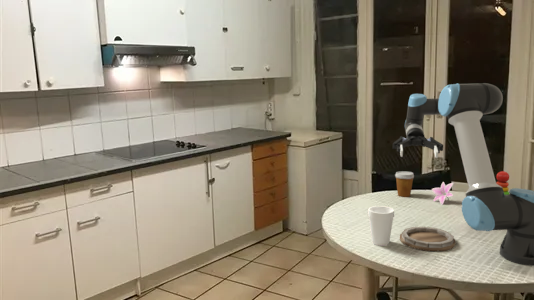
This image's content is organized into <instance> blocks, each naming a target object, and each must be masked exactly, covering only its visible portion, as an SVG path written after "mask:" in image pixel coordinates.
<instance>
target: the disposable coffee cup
mask: <svg viewBox="0 0 534 300" xmlns="http://www.w3.org/2000/svg"><path fill="white" fill-rule="evenodd" d="M394 177H395V179H396V190H397V192H396V193H397V196H398V197H401V198H408V197H409V198H410V197H411V193H412V187H413V181H414V178H415V175H414V172H412V171H403V170H402V171H396V172H395V174H394Z"/></svg>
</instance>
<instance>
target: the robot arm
mask: <svg viewBox="0 0 534 300" xmlns="http://www.w3.org/2000/svg"><path fill="white" fill-rule="evenodd" d="M503 97H504V96H503V93H502V91H501V89H500V88H499V87H498V86H496V85H494V84H491V83H486V82H482V83H453V84H452V83H451V84H447V85H446V86H444V87H443V88H442V90H441V92H440V94H439V96H438V98H428V97H427V96H426V95H425V94H423V93H412V94H410V96H409V99H408V104H407V111H406V119H405V122H404V131H405V135H406V138H405V137H404V136H403V135H401V136H399V138H397V140H395V141H393V142H392V150H396V152H398V153H399V155H400V157H401V158H403V155H404V149H405V148H407V147H411V146H412V147H413V146H416V147H418V146H421V147H423V148H425V147H426V148H427V149H430V150H433V154H434V157H435V159H438V158H439V154H440V153H441V152H443V151H444V144H443V143H441V142H440V141H438V140H436V139H434V137H432V136H430V137H429V138H427V137H425V134H424V130H423V124H424V118H425V116H436V115H441V116H442V117H445V118H446V117H447V121H448V124H450V125H451V126H453V127H454V131H455V136H456V140H457V143H458V144H457V145H458V148H459V153H460V157H461V160H462V165H463V169H464V173H465V177H466V181H467V185H468V189H467V190H466V192H465V197H464V198H463V199H462V201H461V212H462V216H463V218H464V221H465V222H466V224H467V225H468V226H469V227H470V228H471V229H472V230H474V231H477V232H478V231H480V232H492V231H501V230H502V231H503V230H504V231H506V233H505V236H504V238H503V240H502V241H501V243H500V246H499V254H500V256H501V257H502V258H504V259H506V260H507V261H510V262H513V263H516V264H520V265H526V266H534V190H530V189H526V188H517V187H515V188H514V187H513V188H509V190H508V192H509V194H508V195H504V191H503V188H502V187H501V186H499V185H498V184H496V182H497V181H496V178H495V177H496V176H495V174H494V170H493V167H492V163H491V158H490V155H489V151H488V147H487V144H486V139H485V137H484V135H485V134H484V132H483V128H482V124H481V122H480V121H481V119H482V117H483V115H489V114H493V113H494V112H496V111H497V110H499V109H500V108H501V106H502V105H503V99H504V98H503Z"/></svg>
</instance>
